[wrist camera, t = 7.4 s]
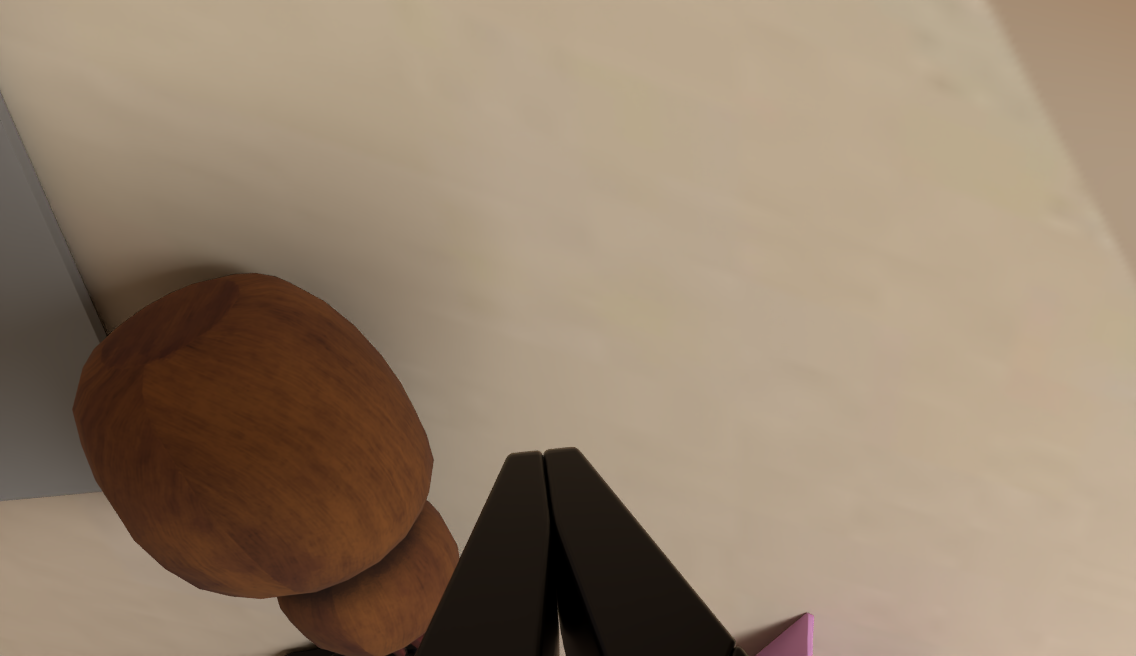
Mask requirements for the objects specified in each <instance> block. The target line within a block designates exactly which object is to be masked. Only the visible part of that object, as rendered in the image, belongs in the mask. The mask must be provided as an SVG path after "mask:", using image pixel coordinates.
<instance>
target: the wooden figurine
mask: <svg viewBox="0 0 1136 656" xmlns="http://www.w3.org/2000/svg"><path fill="white" fill-rule="evenodd" d="M72 411H73V415H74V419H75V423H76V427H77V430H78V434H79V438H80V442H81V445H82V448H83V451H84V453H85V456H86V458H87V461H88V463H89V466H90V468H91V471H92V473H93V476H94V478H95V481H96V482H97V484H98V485H99V487H100V488H101V490H102V491H103V493H104V494H105V496H106V497H107V499H108V501H109V502H110V504H111V505H112V507H113V508H114V510H115V511H116V513H117V514H118V516H119V517H120V519H121V520H122V522H123V524H124V525H125V527H126V528H127V530H128V532H129V533H130V535H131V536H132V538H133V539H134V541H135V542H136V543H137V544H139V545H140V546H141V547H142V548H143V549H144V550H145V551H146V552H147V553H148V554H149V555H151V556H152V557H153V558H154V559H155V560H156V561H157V562H158V563H159V564H160V565H161V566H163V567H164V568H165V569H166V570H168V571H170V572H171V573H173V574H175V575H177V576H178V577H180V578H182V579H183V580H185V581H187V582H188V583H190V584H192V585H194V586H195V587H197V588H199V589H203V590H207V591H211V592H215V593H219V594H223V595H228V596H234V597H245V598H257V599H264V598H271V597H277V599H278V602H279V605H280V608H281V610H282V611H283V612H284V614H285V615H286V616H287V618H288V619H289V620H290V622H291V623H292V624H293V625H294V626H295V627H296V628H297V629H298V630H299V631H300V632H301V633H302V634H303V635H304V636H305V637H306V638H308V639H309V640H310V641H311V642H313V643H314V644H315V645H316V646H318V647H319V648H322V649H325V650H328V651H331V652H335V653H338V654H341V655H345V656H386V655H389V654H391V653H393V654H394V655H395V656H405V654H406V651H405V648H404V647H406V646H408V645H409V644H410V643H411V644H412V645H413V646H415V647H416V648H417V649H418V647H419V645H420V643H421V641H422V639H423V636H424V634H425V632H426V630H427V628H428V626H429V623H430V621H431V619H432V617H433V615H434V613H435V611H436V608H437V606H438V604H439V602H440V600H441V598H442V595H443V593H444V591H445V589H446V587H447V585H448V583H449V580H450V578H451V576H452V574H453V572H454V570H455V568H456V565H457V563H458V561H459V559H460V558H459V552H458V546H457V544H456V542H455V540H454V538H453V537H452V535H451V533H450V531H449V529H448V527H447V526H446V524H445V522H444V520H443V519H442V517H441V515H440V513H439V512H438V511H437V510H436V509H435V508H434V507H433V506H432V504H431V503H430V502H428V501H427V500H426V499H427V496H428V493H429V489H430V482H431V475H432V468H433V461H434V459H433V456H432V452H431V449H430V445H429V442H428V438H427V435H426V432H425V430H424V428H423V426H422V424H421V422H420V420H419V417H418V415H417V413H416V411H415V409H414V407H413V405H412V403H411V401H410V399H409V398H408V396H407V394H406V392H405V390H404V388H403V386H402V384H401V383H400V381H399V380H398V378H397V377H396V375H395V374H394V373H393V371H392V370H391V368H390V367H389V365H388V364H387V363H386V361H385V360H384V358H383V357H382V356H381V354H380V353H379V352H378V351H377V350H376V349H375V348H374V347H373V346H372V344H371V343H370V342H369V341H368V340H367V339H366V338H365V337H364V336H363V335H362V333H361V332H360V331H359V330H358V329H357V328H356V327H355V326H354V325H353V324H352V323H350V322H349V321H348V320H347V319H346V318H344V317H343V316H342V315H341V314H339V313H338V312H337V311H336V310H334V309H333V308H332V307H331V306H329V305H328V304H327V303H326V302H325V301H323V300H321V299H319V298H317V297H315V296H314V295H312V294H310V293H308V292H306V291H304V290H302V289H301V288H299V287H297V286H295V285H293V284H291V283H289V282H287V281H285V280H282V279H280V278H278V277H275V276H269V275H264V274H258V273H248V274H233V275H229V276H225V277H220V278H216V279H212V280H207V281H203V282H199V283H194V284H191V285H189V286H187V287H184V288H182V289H179V290H177V291H175V292H172V293H170V294H168V295H166V296H164V297H163V298H161V299H159V300H157V301H155V302H153V303H152V304H150V305H148V306H146V307H145V308H143V309H142V310H140V311H139V312H138V313H136V314H135V315H133V316H132V317H130V318H129V319H128V320H126V321H125V322H124V323H122V324H121V325H119V326H118V327H117V328H116V329H115V330H114V331H113V332H112V333H111V334H109V335H108V336H107V337H106V338H105V339H104V340H103V341H102V342H101V343H100V344H99V345H97V346H96V347H95V348H94V349H93V351H92V353H91V355H90V356H89V358H88V360H87V361H86V363H85V365H84V366H83V368H82V372H81V376H80V380H79V384H78V388H77V392H76V396H75V400H74V404H73V408H72Z"/></svg>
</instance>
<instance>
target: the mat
mask: <svg viewBox="0 0 1136 656" xmlns="http://www.w3.org/2000/svg"><path fill="white" fill-rule="evenodd" d="M106 337H107V336H106V333H105V331H104V329H103V326H102V324H101V322H100V320H99V317H98V315H97V313H96V310H95V308H94V306H93V303H92V301H91V299H90V297H89V294H88V292H87V290H86V287H85V285H84V283H83V280H82V278H81V276H80V274H79V271H78V269H77V267H76V264H75V262H74V260H73V258H72V255H71V253H70V251H69V248H68V246H67V244H66V241H65V239H64V237H63V235H62V232H61V230H60V228H59V225H58V223H57V221H56V218H55V216H54V214H53V212H52V209H51V207H50V205H49V202H48V200H47V198H46V195H45V193H44V191H43V189H42V186H41V184H40V182H39V179H38V177H37V175H36V173H35V170H34V168H33V166H32V163H31V161H30V159H29V156H28V154H27V152H26V150H25V147H24V145H23V143H22V140H21V138H20V136H19V133H18V131H17V129H16V127H15V124H14V122H13V120H12V117H11V115H10V113H9V110H8V108H7V106H6V104H5V101H4V99H3V97H2V94H1V92H0V501H7V500H18V499H28V498H39V497H50V496H60V495H71V494H81V493H92V492H102V490H101V488H100V487H99V485H98V484H97V482H96V481H95V478H94V476H93V473H92V471H91V468H90V466H89V463H88V461H87V458H86V456H85V453H84V451H83V448H82V445H81V442H80V438H79V434H78V430H77V427H76V423H75V419H74V415H73V411H72V408H73V404H74V400H75V396H76V392H77V388H78V384H79V380H80V376H81V372H82V368H83V366H84V365H85V363H86V361H87V360H88V358H89V356H90V355H91V353H92V351H93V349H94V348H95V347H96V346H97V345H99V344H100V343H101V342H102V341H103V340H104V339H105V338H106Z"/></svg>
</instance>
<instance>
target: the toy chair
mask: <svg viewBox="0 0 1136 656" xmlns="http://www.w3.org/2000/svg"><path fill="white" fill-rule="evenodd" d="M813 625H814V616H813V615H812V614H809V613H806V614H804V615H803V616H802V617H801V618H799V619H798V620H797V621H796V622H795V623H793V624H792V625H791V626H790V627H789V628H787V629H786V630H785V631H784V632H783V633H782V634H780V635H779V636H778V637H777V638H776V639H774V640H773V641H772V642H771V643H770V644H768V645H767V646H766V647H765V648H764V649H763V650H761V651H760V652H759V653H758V654H757V655H755V656H812V655H813Z"/></svg>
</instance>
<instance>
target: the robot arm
mask: <svg viewBox="0 0 1136 656" xmlns="http://www.w3.org/2000/svg"><path fill="white" fill-rule="evenodd" d="M557 606H558V607H557ZM558 615H559V622H560V629H561V635H562V640H563V645H564V650H565V654H566V656H748V655H747V654H746V652H745V651H744V650H743V649H742V648H741V647H739V646H738V647H736V641H735V640H734V638H733V637H732V636H731V635H730V633H729V632H728V631H727V630H726V629H725V627H724V626H723V625H722V624H721V622H720V621H719V620H718V619H717V618H716V616H715V615H714V614H713V613H712V611H711V610H710V609H709V608H708V607H707V605H706V604H705V603H704V602H703V600H702V599H701V598H700V597H699V596H698V594H697V593H696V592H695V591H694V589H693V588H692V587H691V586H690V585H689V583H688V582H687V581H686V580H685V578H684V577H683V576H682V575H681V574H680V572H679V571H678V570H677V569H676V567H675V566H674V565H673V564H672V563H671V561H670V560H669V559H668V558H667V557H666V555H665V554H664V553H663V552H662V550H661V549H660V548H659V547H658V546H657V544H656V543H655V542H654V541H653V539H652V538H651V537H650V536H649V535H648V533H647V532H646V531H645V530H644V528H643V527H642V526H641V525H640V524H639V522H638V521H637V520H636V519H635V517H634V516H633V515H632V514H631V513H630V511H629V510H628V509H627V508H626V506H625V505H624V504H623V503H622V502H621V500H620V499H619V498H618V497H617V495H616V494H615V493H614V492H613V491H612V489H611V488H610V487H609V486H608V484H607V483H606V482H605V481H604V480H603V478H602V477H601V476H600V475H599V473H598V472H597V471H596V470H595V469H594V467H593V466H592V465H591V464H590V462H589V461H588V460H587V459H586V458H585V456H584V455H583V454H582V453H581V452H580V451H579V450H578V449H577V448H575V447H566V448H556V449H548V450H546V451H545V452H544V455H542V453H541V452H540V451H527V452H518V453H511V454H510V455H508V457H507V458H506V460H505V462H504V464H503V466H502V469H501V471H500V473H499V475H498V477H497V479H496V482H495V484H494V486H493V488H492V490H491V492H490V494H489V497H488V499H487V501H486V503H485V505H484V507H483V509H482V512H481V514H480V516H479V518H478V520H477V522H476V525H475V527H474V529H473V531H472V533H471V535H470V537H469V540H468V542H467V544H466V546H465V548H464V550H463V552H462V555H461V557H460V559H459V561H458V563H457V565H456V568H455V570H454V572H453V574H452V576H451V578H450V580H449V583H448V585H447V587H446V589H445V591H444V593H443V595H442V598H441V600H440V602H439V604H438V606H437V608H436V611H435V613H434V615H433V617H432V619H431V621H430V623H429V626H428V628H427V630H426V632H425V634H424V636H423V639H422V641H421V643H420V645H419V647H418V649H417V648H416V647H415V646H413V645H412V644H411V643H410V644H409V645H408V646H406V647H404V648H405V651H406V654H405V656H559V622H558ZM285 656H345V655H341V654H338V653H335V652H331V651H328V650H325V649H321V650H312V651H303V652H294V653H290V654H287V655H285ZM386 656H395V655H394V654H393V653H391V654H389V655H386Z"/></svg>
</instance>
